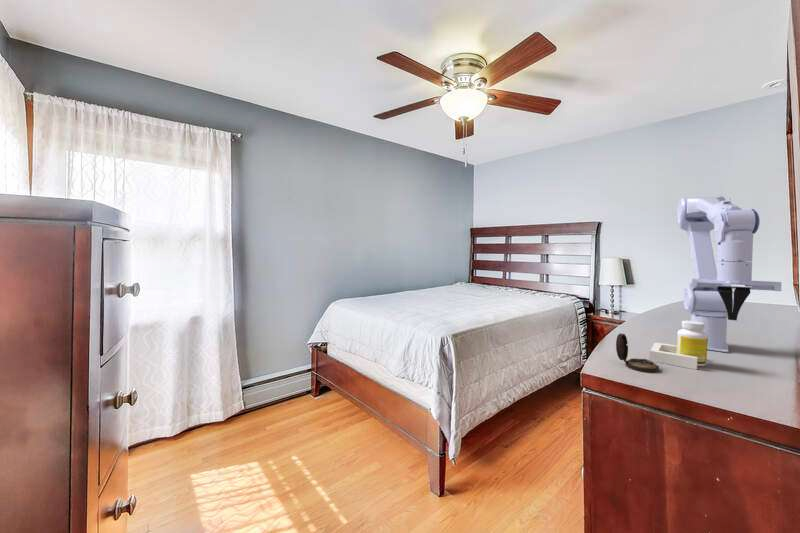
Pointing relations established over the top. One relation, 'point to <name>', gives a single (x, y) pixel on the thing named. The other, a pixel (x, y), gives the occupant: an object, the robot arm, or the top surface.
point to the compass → (634, 363)
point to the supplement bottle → (693, 341)
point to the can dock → (671, 356)
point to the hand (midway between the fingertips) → (732, 319)
